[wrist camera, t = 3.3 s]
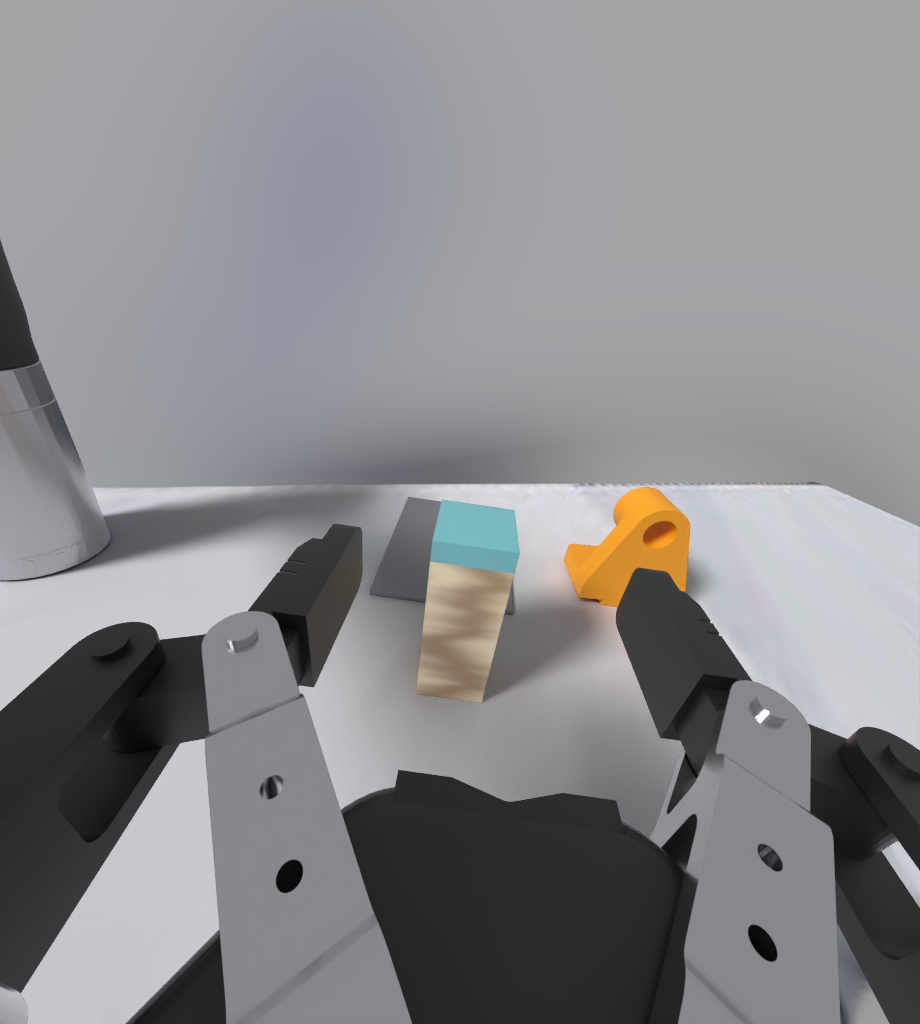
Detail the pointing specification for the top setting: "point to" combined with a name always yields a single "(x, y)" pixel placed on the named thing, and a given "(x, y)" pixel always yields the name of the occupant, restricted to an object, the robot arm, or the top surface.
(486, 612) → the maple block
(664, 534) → the bracket
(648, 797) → the top surface
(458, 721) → the top surface
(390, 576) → the rubber mat
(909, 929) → the robot arm
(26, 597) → the top surface
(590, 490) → the top surface
